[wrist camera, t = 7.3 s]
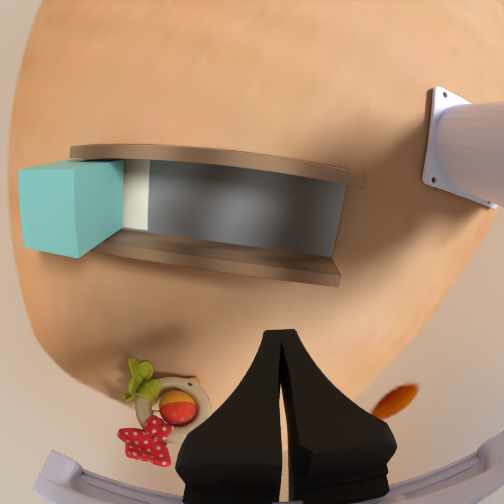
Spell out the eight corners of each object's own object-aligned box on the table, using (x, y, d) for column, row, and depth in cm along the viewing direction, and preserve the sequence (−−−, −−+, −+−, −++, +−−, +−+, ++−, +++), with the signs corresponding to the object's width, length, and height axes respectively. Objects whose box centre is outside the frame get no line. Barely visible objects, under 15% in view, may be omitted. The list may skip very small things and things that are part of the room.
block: (124, 159, 17) (74, 169, 12) (123, 227, 19) (78, 258, 14) (71, 159, 17) (18, 170, 12) (72, 221, 19) (24, 247, 14)
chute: (347, 169, 18) (364, 174, 15) (327, 264, 21) (338, 286, 17) (92, 144, 18) (65, 146, 15) (91, 232, 20) (67, 247, 17)
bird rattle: (196, 343, 27) (107, 351, 23) (231, 435, 17) (110, 450, 14) (198, 383, 29) (120, 392, 26) (229, 465, 19) (131, 479, 16)
